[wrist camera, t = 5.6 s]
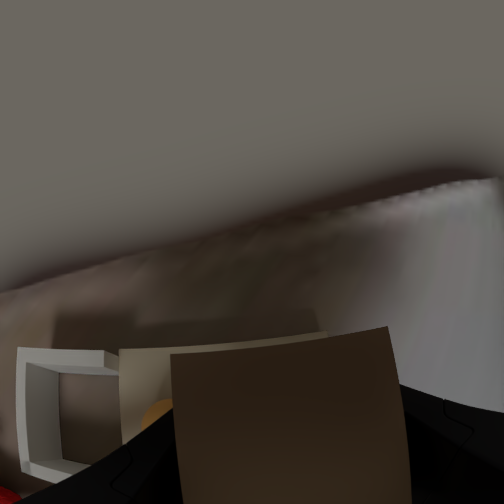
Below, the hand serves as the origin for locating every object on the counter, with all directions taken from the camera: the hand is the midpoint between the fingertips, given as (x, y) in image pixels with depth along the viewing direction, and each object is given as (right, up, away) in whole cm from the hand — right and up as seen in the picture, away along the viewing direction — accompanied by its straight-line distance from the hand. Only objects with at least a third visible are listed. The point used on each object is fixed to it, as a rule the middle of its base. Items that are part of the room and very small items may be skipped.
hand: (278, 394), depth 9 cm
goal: (-12, -7, +8) cm, 16 cm away
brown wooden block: (0, -5, +6) cm, 7 cm away
